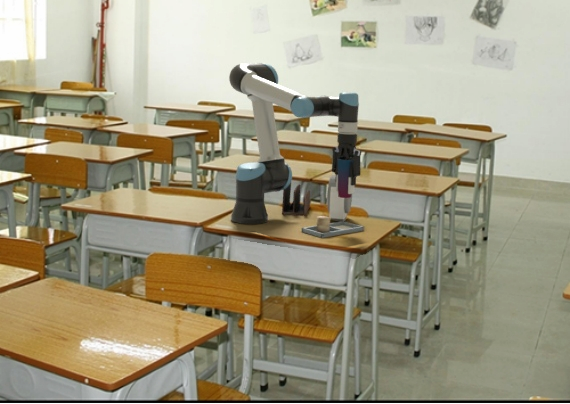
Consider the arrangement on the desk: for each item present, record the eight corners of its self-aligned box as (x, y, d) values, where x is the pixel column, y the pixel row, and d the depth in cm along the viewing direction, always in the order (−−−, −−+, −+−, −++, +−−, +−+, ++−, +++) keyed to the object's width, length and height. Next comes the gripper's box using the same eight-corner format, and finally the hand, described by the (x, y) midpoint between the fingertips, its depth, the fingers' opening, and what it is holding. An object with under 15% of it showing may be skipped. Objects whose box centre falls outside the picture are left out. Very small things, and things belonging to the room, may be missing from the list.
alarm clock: (332, 215, 345) (334, 169, 341) (351, 216, 344) (353, 170, 340) (325, 224, 328) (327, 175, 324) (346, 225, 326) (348, 176, 322)
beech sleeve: (313, 232, 308) (314, 217, 307) (323, 230, 311) (323, 215, 310) (322, 234, 304) (323, 219, 303) (332, 233, 308) (332, 218, 307)
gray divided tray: (301, 234, 309) (301, 227, 308) (342, 227, 323) (343, 221, 323) (322, 240, 300) (322, 233, 300) (363, 232, 315) (363, 226, 314)
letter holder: (281, 214, 344) (282, 182, 342) (288, 205, 364) (289, 175, 361) (304, 216, 343) (306, 183, 340) (310, 207, 362) (311, 176, 360)
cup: (334, 197, 310) (336, 159, 307) (337, 194, 316) (338, 157, 313) (352, 198, 308) (354, 160, 305) (354, 195, 315) (356, 158, 312)
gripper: (323, 131, 312) (321, 189, 317) (358, 135, 298) (355, 196, 302) (337, 130, 317) (335, 187, 321) (372, 134, 303) (369, 195, 307)
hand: (345, 192), depth 312 cm, fingers closed on cup, 6 cm apart
